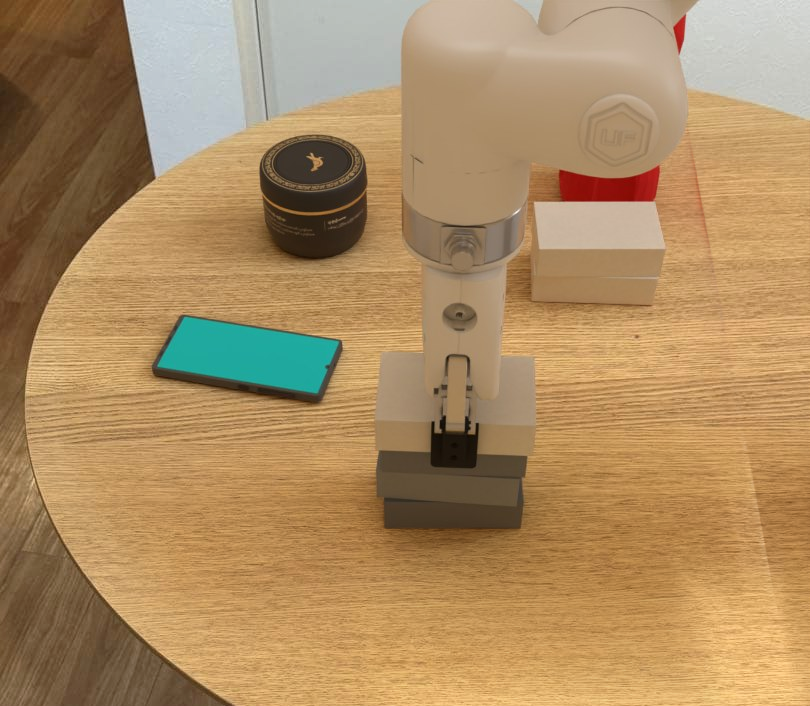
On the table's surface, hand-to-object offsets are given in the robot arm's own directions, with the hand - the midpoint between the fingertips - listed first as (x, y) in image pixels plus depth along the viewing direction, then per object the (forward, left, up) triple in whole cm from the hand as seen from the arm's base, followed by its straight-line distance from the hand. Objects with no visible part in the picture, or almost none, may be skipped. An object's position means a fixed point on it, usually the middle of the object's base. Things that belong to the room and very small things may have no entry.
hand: (454, 423), depth 83 cm
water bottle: (-14, -42, -9) cm, 45 cm away
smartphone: (+18, -15, -8) cm, 25 cm away
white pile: (-12, -28, -8) cm, 32 cm away
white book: (0, 0, +1) cm, 1 cm away
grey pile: (0, 0, -8) cm, 8 cm away
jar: (+14, -34, -9) cm, 38 cm away
